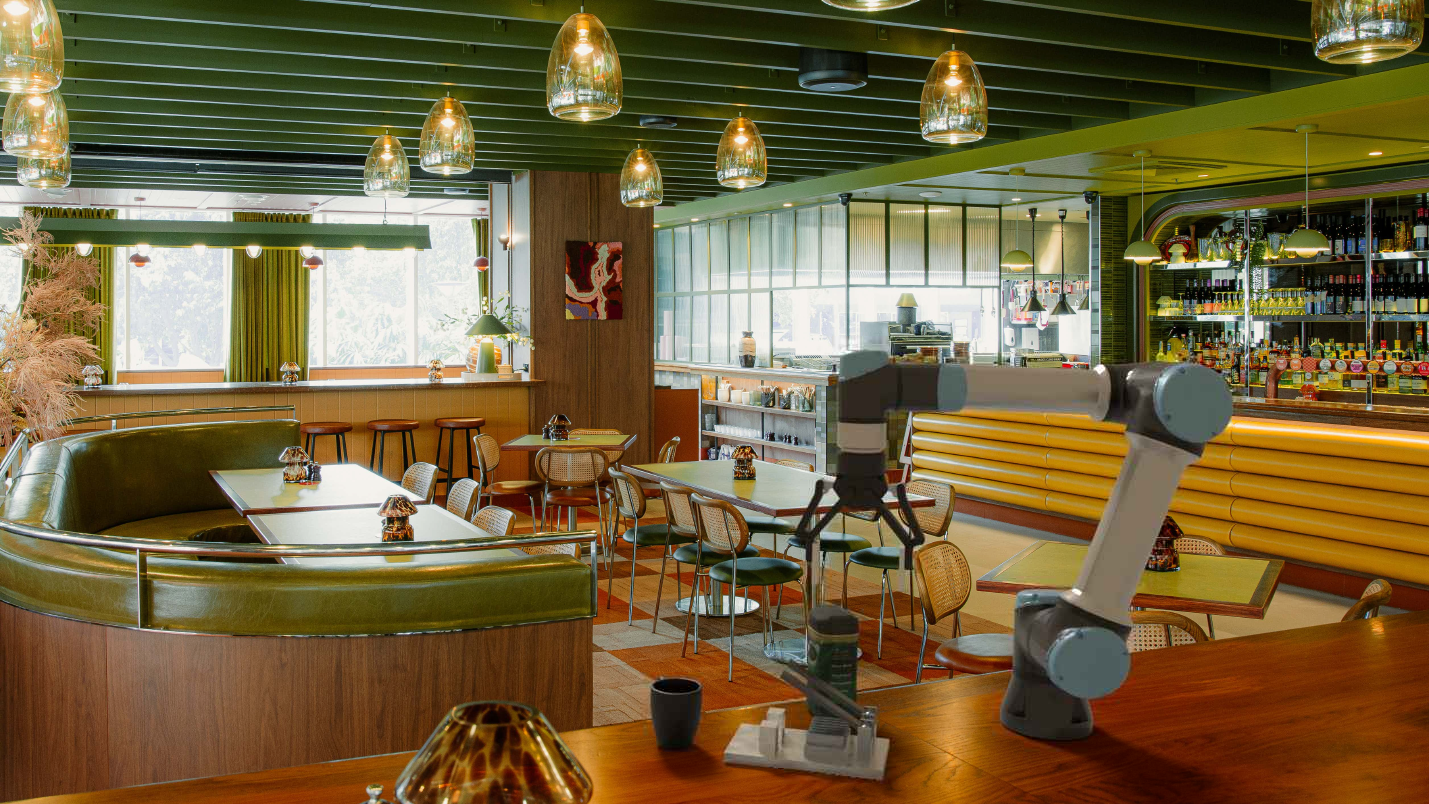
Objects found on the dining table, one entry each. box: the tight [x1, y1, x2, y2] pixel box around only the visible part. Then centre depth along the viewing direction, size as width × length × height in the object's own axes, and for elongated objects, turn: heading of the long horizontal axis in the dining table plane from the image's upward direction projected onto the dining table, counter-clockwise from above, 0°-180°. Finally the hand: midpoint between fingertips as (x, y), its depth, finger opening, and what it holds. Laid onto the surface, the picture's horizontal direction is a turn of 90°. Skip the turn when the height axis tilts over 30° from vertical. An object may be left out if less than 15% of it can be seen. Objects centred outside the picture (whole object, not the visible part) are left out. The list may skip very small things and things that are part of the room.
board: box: [723, 705, 890, 781], centre depth 169 cm, size 24×13×7 cm, turn 77°
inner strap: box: [785, 658, 875, 718], centre depth 171 cm, size 16×2×2 cm
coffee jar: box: [805, 603, 860, 719], centre depth 188 cm, size 10×8×19 cm
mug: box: [649, 675, 703, 752], centre depth 174 cm, size 8×12×10 cm
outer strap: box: [779, 669, 872, 731], centre depth 165 cm, size 16×2×2 cm
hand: (858, 586), depth 170 cm, fingers open, 13 cm apart
